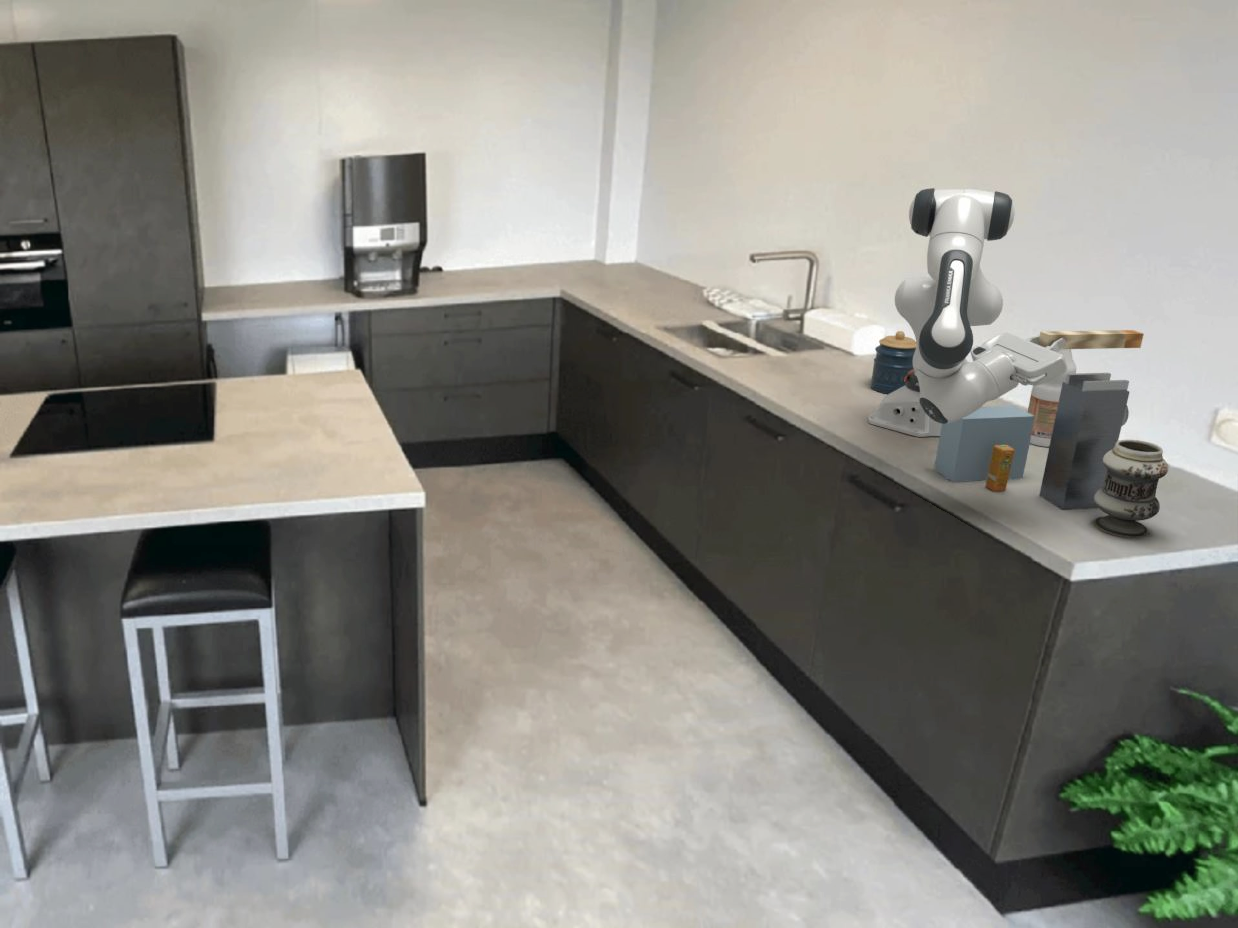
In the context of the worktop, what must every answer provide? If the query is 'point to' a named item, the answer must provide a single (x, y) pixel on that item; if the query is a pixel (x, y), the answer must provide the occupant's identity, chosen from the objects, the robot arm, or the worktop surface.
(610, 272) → the worktop surface
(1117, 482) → the apothecary jar
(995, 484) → the supplement box
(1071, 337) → the tan wooden bar
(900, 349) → the canister
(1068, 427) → the housing tower
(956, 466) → the pale blue brick
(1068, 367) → the fruit juice
